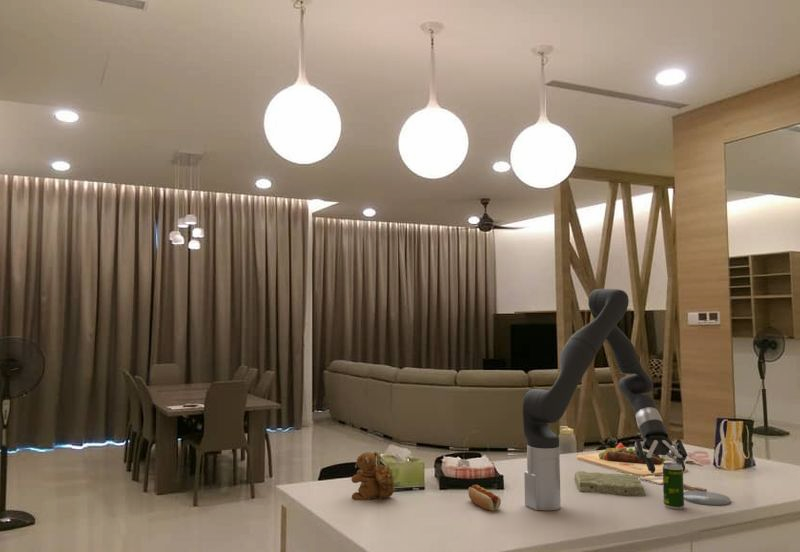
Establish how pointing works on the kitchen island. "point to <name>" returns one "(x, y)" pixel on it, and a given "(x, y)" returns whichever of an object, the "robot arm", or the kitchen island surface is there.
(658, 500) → the kitchen island surface
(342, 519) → the kitchen island surface
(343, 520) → the kitchen island surface
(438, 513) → the kitchen island surface
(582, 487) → the decorative tile
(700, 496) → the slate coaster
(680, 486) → the beer can
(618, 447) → the cutting board
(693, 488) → the beech turner
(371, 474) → the stuffed squirrel
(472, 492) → the food
